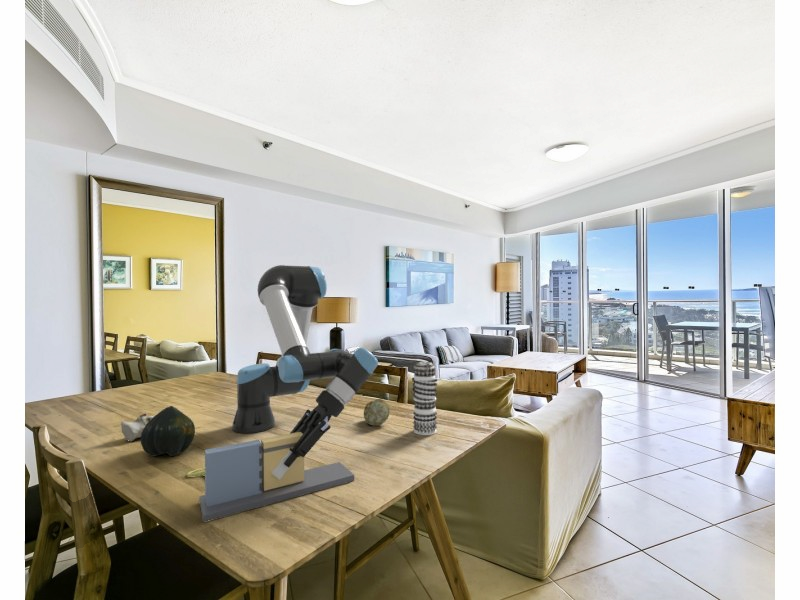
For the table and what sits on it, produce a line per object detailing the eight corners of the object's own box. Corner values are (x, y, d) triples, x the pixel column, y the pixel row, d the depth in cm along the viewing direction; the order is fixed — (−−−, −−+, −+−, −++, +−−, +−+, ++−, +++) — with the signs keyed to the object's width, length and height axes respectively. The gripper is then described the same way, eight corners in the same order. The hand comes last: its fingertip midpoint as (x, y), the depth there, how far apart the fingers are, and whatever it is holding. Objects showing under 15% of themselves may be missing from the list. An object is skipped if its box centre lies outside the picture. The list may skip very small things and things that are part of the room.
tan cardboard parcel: (264, 491, 94) (263, 442, 94) (261, 486, 97) (260, 439, 97) (304, 480, 100) (304, 435, 100) (300, 476, 102) (300, 431, 102)
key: (217, 485, 102) (217, 476, 102) (182, 478, 107) (182, 470, 107) (237, 473, 109) (237, 466, 109) (204, 467, 113) (204, 460, 113)
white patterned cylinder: (430, 437, 135) (429, 365, 135) (407, 432, 140) (407, 363, 140) (442, 429, 143) (441, 362, 143) (420, 425, 148) (419, 360, 148)
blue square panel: (206, 507, 88) (206, 454, 88) (205, 501, 90) (204, 449, 90) (262, 492, 94) (261, 443, 94) (259, 487, 97) (258, 439, 97)
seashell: (391, 419, 156) (391, 394, 156) (388, 428, 145) (387, 402, 145) (365, 418, 157) (365, 394, 157) (360, 428, 146) (359, 401, 146)
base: (203, 522, 84) (203, 515, 84) (199, 502, 93) (199, 496, 93) (354, 480, 103) (354, 474, 103) (339, 467, 112) (339, 461, 112)
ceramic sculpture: (116, 414, 136) (163, 407, 148) (115, 439, 136) (162, 430, 148) (126, 420, 130) (174, 412, 141) (124, 446, 129) (173, 437, 141)
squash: (156, 449, 112) (184, 402, 122) (121, 445, 117) (150, 400, 127) (189, 467, 122) (213, 422, 131) (155, 462, 127) (180, 419, 137)
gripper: (356, 412, 100) (293, 494, 91) (333, 399, 114) (276, 469, 105) (337, 395, 97) (270, 477, 89) (315, 383, 111) (255, 454, 102)
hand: (273, 473), depth 97 cm, fingers closed on tan cardboard parcel, 3 cm apart
